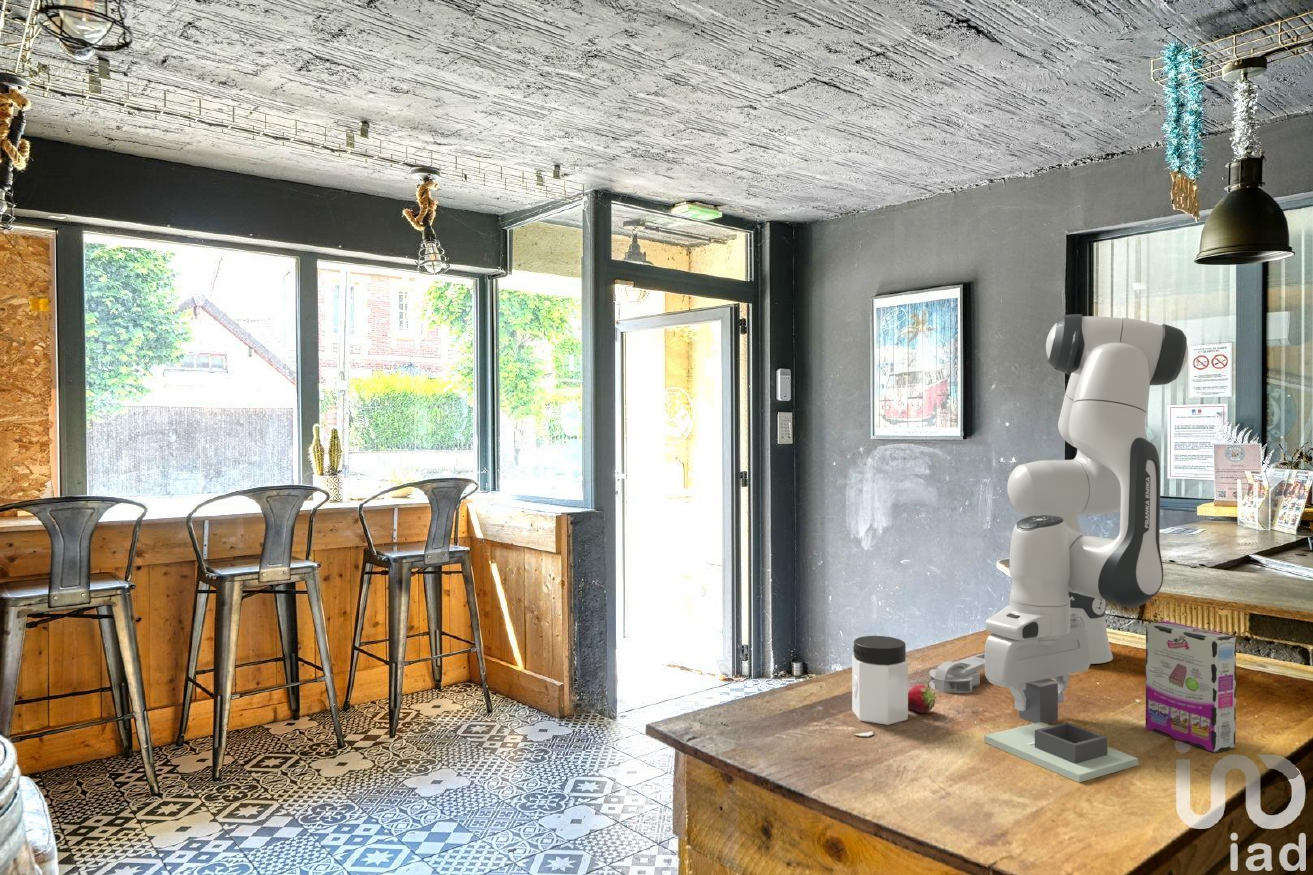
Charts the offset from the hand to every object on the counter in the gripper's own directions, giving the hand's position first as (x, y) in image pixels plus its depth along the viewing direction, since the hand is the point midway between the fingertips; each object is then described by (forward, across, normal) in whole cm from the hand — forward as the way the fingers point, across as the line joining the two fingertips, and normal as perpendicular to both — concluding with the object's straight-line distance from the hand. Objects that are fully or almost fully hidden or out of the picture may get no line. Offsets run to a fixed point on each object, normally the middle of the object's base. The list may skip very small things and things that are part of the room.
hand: (1039, 705), depth 139 cm
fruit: (+2, +14, -12) cm, 19 cm away
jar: (+2, +21, -13) cm, 25 cm away
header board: (+2, +9, +11) cm, 14 cm away
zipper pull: (+2, -5, -20) cm, 21 cm away
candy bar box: (+2, -13, +16) cm, 21 cm away
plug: (+2, 0, 0) cm, 2 cm away
